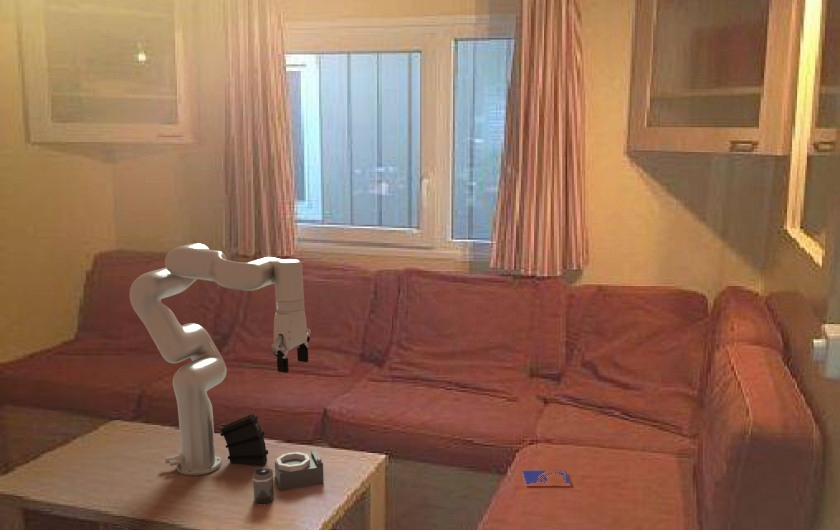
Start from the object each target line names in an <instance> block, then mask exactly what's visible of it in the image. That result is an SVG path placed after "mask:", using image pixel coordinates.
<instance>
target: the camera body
mask: <svg viewBox="0 0 840 530" xmlns="http://www.w3.org/2000/svg"><path fill="white" fill-rule="evenodd" d="M310 453H311V454H308V453H304V452H301V451H300V452H299V451H294V452H287V453H283V454H281V455H280V456H279V457H277V458H276V459H274V476H275V479H276V482H277V484H278V487H279V490H280V491H286V490H287V491H288V490H291V489H297V488H303V487H310V485H311V486H316V485H315V484H317V485H321V483H322V484H324V481H325V480H324V479H325V478H324V462H323V459H322V457H320V455H319V453H318V450H317V449H312V450H310Z"/></svg>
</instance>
